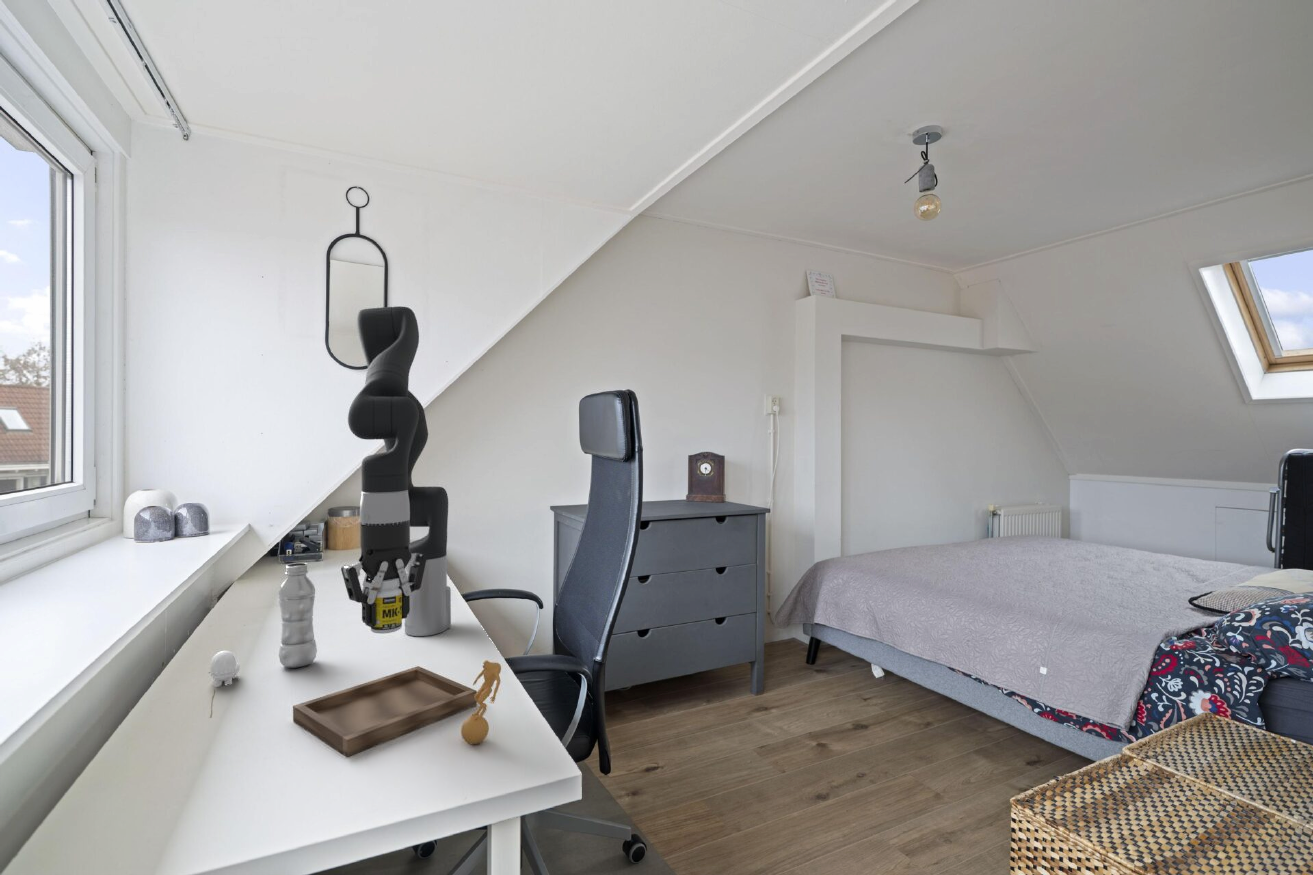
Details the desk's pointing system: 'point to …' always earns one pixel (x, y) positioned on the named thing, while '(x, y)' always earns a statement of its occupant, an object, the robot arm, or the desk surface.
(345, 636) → the desk surface
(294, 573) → the plastic bottle
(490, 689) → the figurine
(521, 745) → the desk surface
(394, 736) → the walnut tray
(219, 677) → the toy creature
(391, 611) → the supplement bottle
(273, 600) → the desk surface
